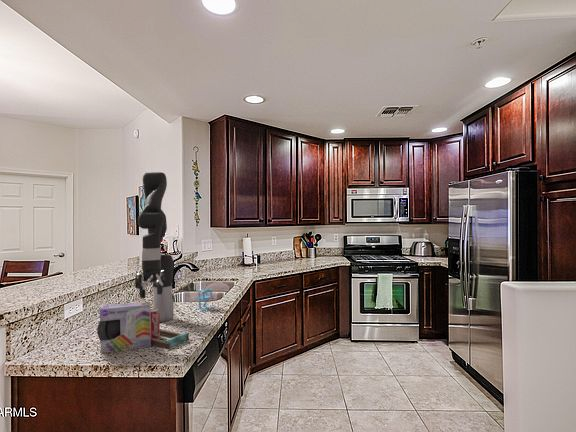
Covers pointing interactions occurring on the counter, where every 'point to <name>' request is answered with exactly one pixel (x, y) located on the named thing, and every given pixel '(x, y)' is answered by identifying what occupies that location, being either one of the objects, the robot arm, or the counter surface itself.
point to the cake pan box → (124, 326)
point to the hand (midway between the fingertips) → (151, 296)
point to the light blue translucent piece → (204, 298)
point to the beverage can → (155, 323)
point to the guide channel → (174, 339)
